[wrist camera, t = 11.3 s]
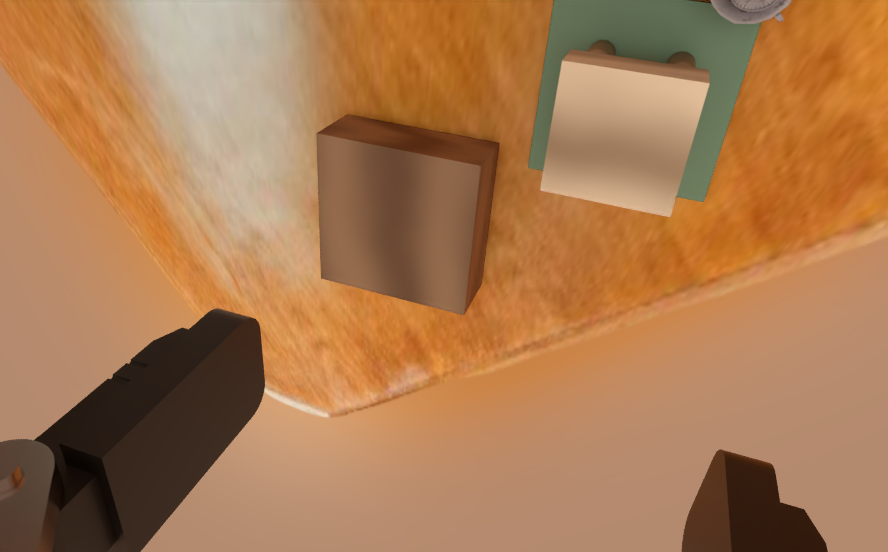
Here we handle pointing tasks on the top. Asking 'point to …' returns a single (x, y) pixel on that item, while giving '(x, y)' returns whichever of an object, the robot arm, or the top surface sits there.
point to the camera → (750, 10)
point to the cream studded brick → (623, 128)
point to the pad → (654, 39)
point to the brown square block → (404, 210)
